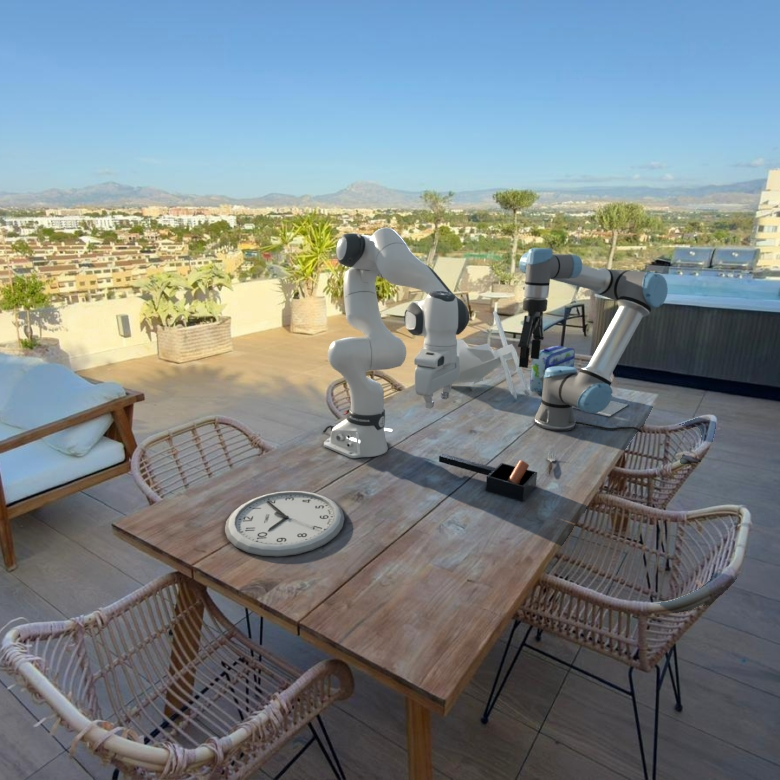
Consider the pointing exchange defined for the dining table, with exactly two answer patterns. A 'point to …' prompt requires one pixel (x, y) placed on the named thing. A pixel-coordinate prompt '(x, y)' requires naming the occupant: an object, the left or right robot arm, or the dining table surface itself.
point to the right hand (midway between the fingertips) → (529, 362)
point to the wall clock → (284, 523)
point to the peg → (518, 472)
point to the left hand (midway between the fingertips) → (437, 402)
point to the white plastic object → (488, 361)
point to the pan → (497, 477)
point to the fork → (551, 460)
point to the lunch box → (549, 364)
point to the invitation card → (611, 408)
